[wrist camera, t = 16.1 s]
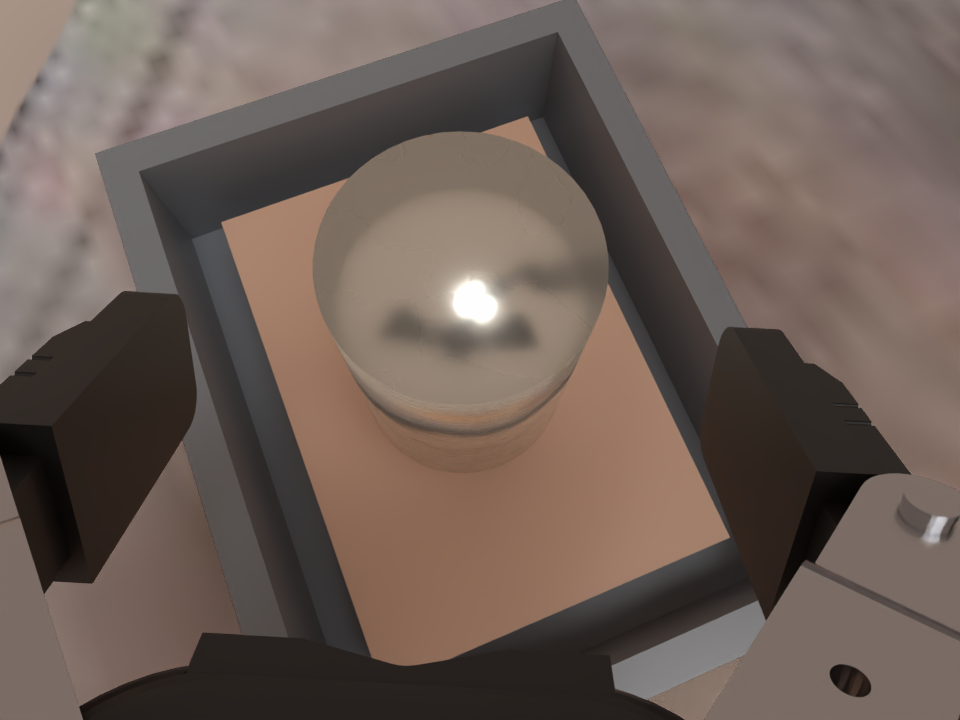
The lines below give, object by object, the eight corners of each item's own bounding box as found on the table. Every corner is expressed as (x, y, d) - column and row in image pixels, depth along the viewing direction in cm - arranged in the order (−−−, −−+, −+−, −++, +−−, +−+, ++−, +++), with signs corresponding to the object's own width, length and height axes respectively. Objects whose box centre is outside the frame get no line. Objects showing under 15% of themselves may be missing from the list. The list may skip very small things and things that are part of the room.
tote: (554, 102, 29) (574, -4, 24) (794, 589, 25) (885, 590, 19) (165, 236, 27) (95, 153, 22) (344, 790, 23) (309, 853, 17)
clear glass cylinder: (512, 260, 23) (534, 94, 16) (592, 426, 22) (659, 334, 14) (338, 327, 22) (272, 189, 15) (409, 504, 21) (376, 452, 13)
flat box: (520, 165, 27) (527, 116, 25) (697, 543, 24) (729, 537, 21) (247, 261, 26) (221, 222, 23) (392, 675, 23) (382, 687, 20)
